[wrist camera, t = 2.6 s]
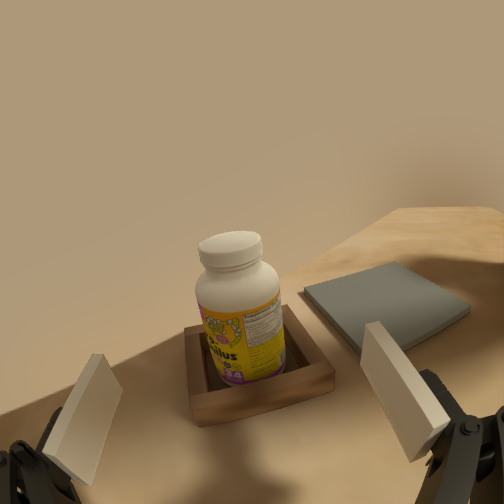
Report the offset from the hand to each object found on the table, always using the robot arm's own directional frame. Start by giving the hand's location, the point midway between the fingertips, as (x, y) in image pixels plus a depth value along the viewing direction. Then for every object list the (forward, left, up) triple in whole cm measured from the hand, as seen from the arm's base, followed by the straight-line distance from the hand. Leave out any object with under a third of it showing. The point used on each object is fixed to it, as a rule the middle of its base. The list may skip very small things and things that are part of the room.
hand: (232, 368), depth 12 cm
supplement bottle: (-2, -10, -10) cm, 14 cm away
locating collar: (-2, -10, -10) cm, 14 cm away
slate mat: (-20, -13, -10) cm, 25 cm away
